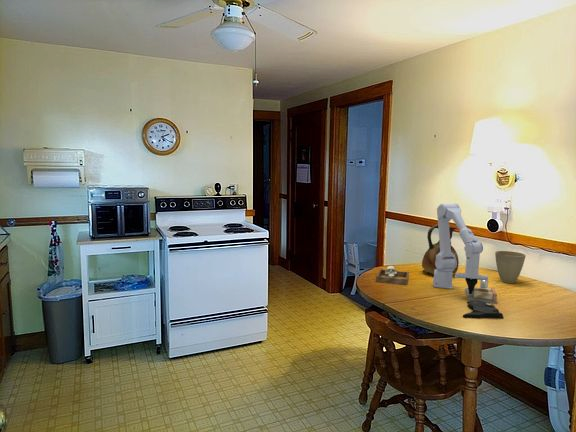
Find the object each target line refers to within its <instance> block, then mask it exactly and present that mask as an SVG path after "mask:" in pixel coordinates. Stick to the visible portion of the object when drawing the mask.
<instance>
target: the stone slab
mask: <svg viewBox="0 0 576 432" xmlns="http://www.w3.org/2000/svg"><path fill="white" fill-rule="evenodd" d="M466 304H467V306H466V307H467V308H468V309H470V310H471V311H470V312H467V313H464V314H463V315H462V317H463V318H465V319H473V320H474V319H476V320H479V319H489V318H490V319H499V320H503V319H504V318H505V317H504V315H503V313H502V312H500V310H499V309H498V308H497V307H496V306H495V305H494V304H493V303H487V302H483V301H480V300H474V301H469V300H467V301H466Z"/></svg>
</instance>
